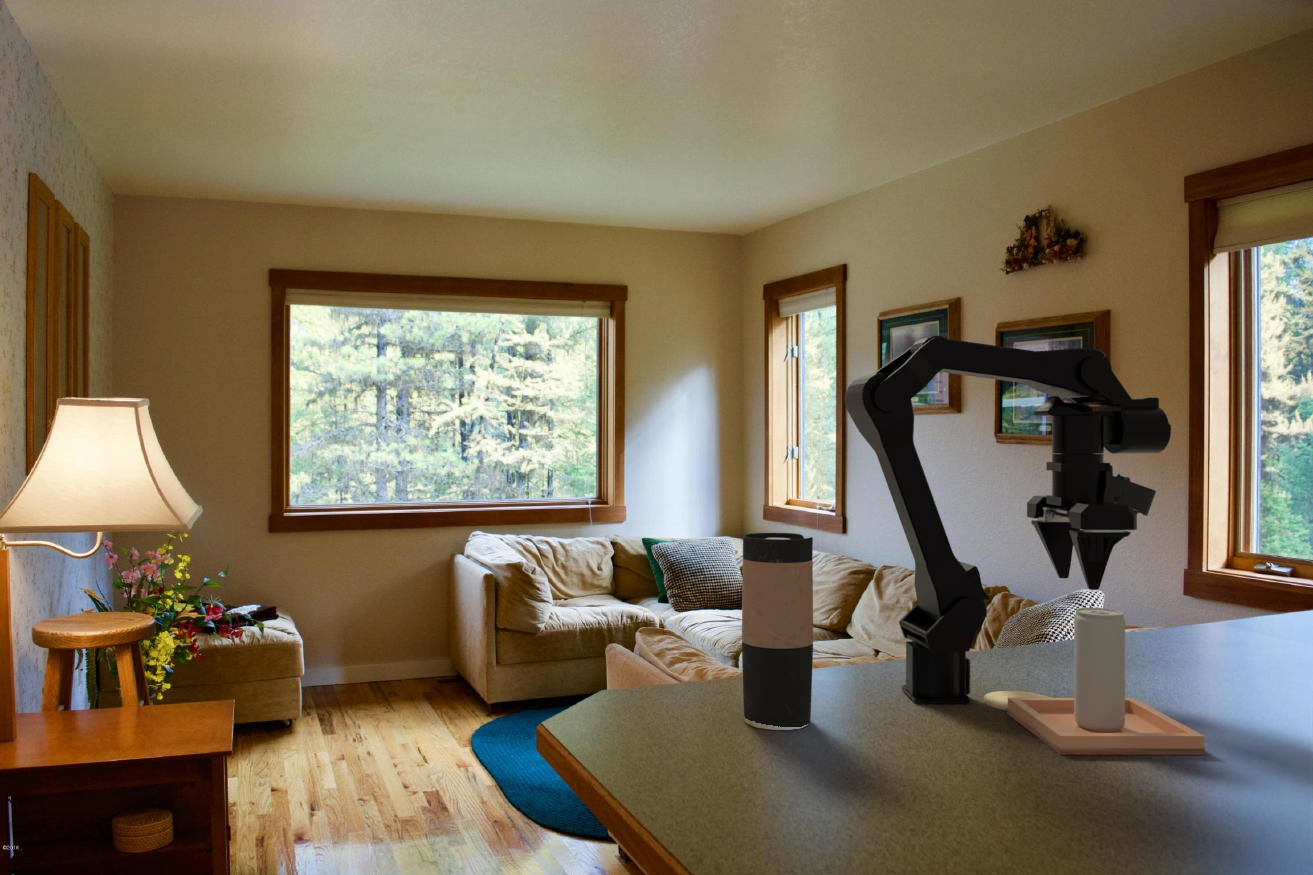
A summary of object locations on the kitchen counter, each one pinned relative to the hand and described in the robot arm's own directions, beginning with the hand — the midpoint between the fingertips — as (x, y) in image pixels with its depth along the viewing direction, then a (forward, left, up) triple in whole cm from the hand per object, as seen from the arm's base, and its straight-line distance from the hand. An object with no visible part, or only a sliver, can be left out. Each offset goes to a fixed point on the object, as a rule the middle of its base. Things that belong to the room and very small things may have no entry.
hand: (1078, 583), depth 118 cm
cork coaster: (-9, -5, -13) cm, 17 cm away
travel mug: (-38, -12, -13) cm, 42 cm away
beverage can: (-5, -16, -13) cm, 21 cm away
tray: (-5, -16, -13) cm, 21 cm away
